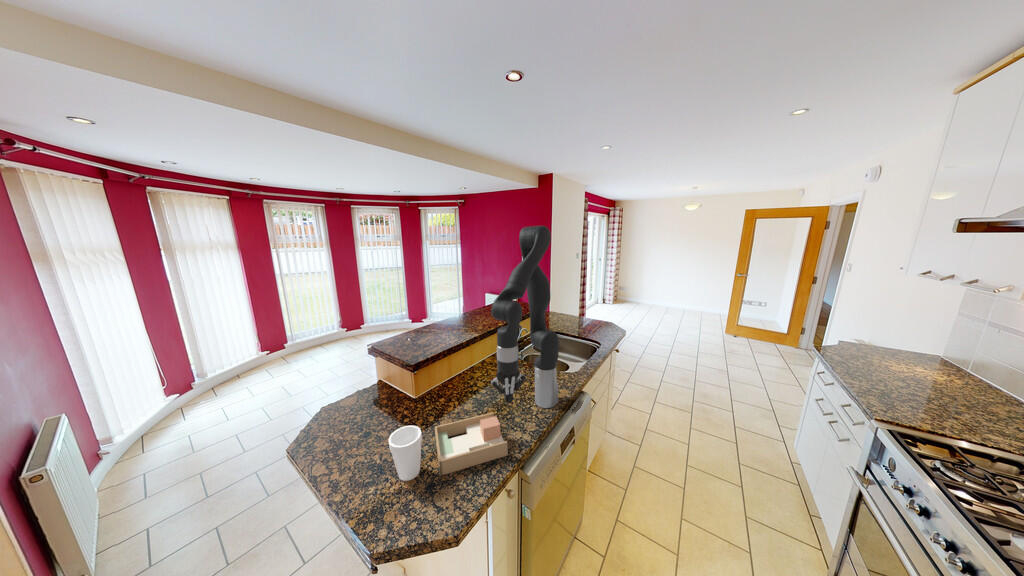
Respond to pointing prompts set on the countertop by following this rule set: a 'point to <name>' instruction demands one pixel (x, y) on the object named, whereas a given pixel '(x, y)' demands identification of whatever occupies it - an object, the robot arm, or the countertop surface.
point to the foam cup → (406, 451)
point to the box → (466, 445)
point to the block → (490, 428)
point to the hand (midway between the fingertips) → (508, 402)
